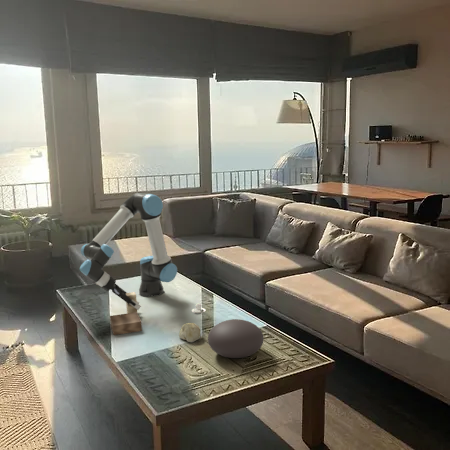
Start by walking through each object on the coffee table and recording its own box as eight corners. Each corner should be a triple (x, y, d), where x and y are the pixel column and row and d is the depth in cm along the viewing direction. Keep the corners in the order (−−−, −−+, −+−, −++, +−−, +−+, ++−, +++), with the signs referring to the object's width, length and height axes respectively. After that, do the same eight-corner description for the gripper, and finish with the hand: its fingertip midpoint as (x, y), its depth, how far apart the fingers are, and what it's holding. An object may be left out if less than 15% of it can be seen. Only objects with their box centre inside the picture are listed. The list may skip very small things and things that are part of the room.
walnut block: (137, 321, 263) (136, 312, 262) (141, 330, 250) (141, 321, 249) (110, 324, 258) (109, 315, 257) (113, 335, 245) (113, 325, 244)
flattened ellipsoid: (246, 372, 205) (246, 338, 202) (197, 358, 218) (196, 326, 215) (273, 349, 226) (273, 318, 223) (226, 338, 239) (226, 308, 236)
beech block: (135, 310, 276) (134, 292, 273) (137, 313, 271) (136, 294, 269) (126, 312, 274) (125, 293, 272) (128, 315, 269) (126, 296, 267)
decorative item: (209, 329, 239) (195, 327, 232) (202, 346, 239) (188, 344, 232) (193, 319, 248) (179, 317, 240) (187, 336, 247) (172, 334, 240)
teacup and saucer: (198, 315, 270) (198, 308, 269) (187, 312, 274) (187, 305, 274) (208, 310, 276) (208, 303, 276) (197, 307, 281) (197, 300, 280)
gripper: (99, 282, 272) (131, 306, 281) (102, 292, 256) (136, 317, 264) (108, 271, 273) (140, 296, 282) (112, 281, 256) (146, 306, 265)
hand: (138, 306), depth 273 cm, fingers closed on beech block, 5 cm apart
